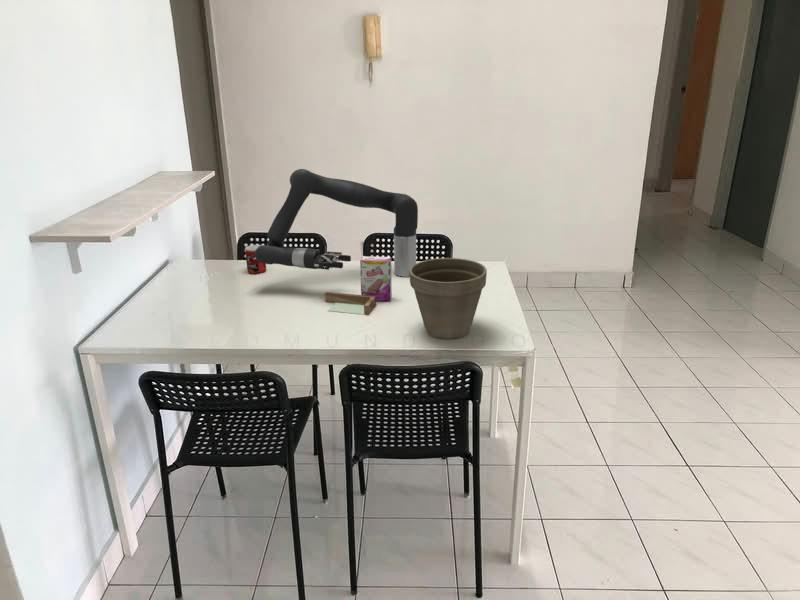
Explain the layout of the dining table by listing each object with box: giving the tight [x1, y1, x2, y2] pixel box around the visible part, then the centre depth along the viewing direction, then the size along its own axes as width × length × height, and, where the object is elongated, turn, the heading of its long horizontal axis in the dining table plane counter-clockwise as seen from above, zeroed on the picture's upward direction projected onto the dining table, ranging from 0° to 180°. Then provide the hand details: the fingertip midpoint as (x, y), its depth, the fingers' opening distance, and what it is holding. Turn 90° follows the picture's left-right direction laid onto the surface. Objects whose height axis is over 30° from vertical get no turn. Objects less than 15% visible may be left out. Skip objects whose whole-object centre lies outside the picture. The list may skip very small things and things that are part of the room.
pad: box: [327, 303, 364, 315], centre depth 219 cm, size 8×14×1 cm, turn 75°
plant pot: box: [409, 257, 488, 340], centre depth 197 cm, size 25×25×22 cm
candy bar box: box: [359, 255, 393, 303], centre depth 225 cm, size 11×5×16 cm, turn 84°
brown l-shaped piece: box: [324, 291, 377, 316], centre depth 220 cm, size 10×20×4 cm, turn 75°
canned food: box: [244, 244, 267, 275], centre depth 258 cm, size 8×8×11 cm
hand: (346, 261), depth 225 cm, fingers open, 8 cm apart
